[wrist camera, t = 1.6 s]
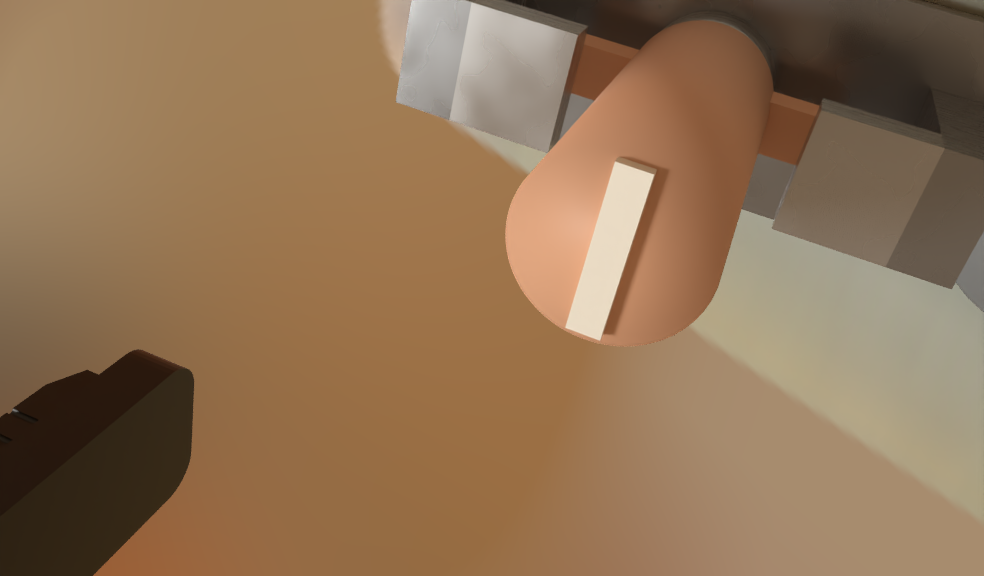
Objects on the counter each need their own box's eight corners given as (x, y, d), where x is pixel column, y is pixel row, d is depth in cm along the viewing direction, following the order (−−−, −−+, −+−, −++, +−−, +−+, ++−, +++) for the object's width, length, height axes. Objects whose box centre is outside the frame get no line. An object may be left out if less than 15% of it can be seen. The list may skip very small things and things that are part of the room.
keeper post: (492, -121, 31) (406, -102, 25) (1041, 33, 28) (1089, 96, 22) (450, 100, 35) (369, 160, 30) (924, 258, 32) (937, 360, 26)
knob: (578, -20, 29) (421, 81, 19) (873, 68, 27) (878, 233, 17) (544, 117, 31) (388, 273, 21) (813, 205, 29) (786, 423, 19)
